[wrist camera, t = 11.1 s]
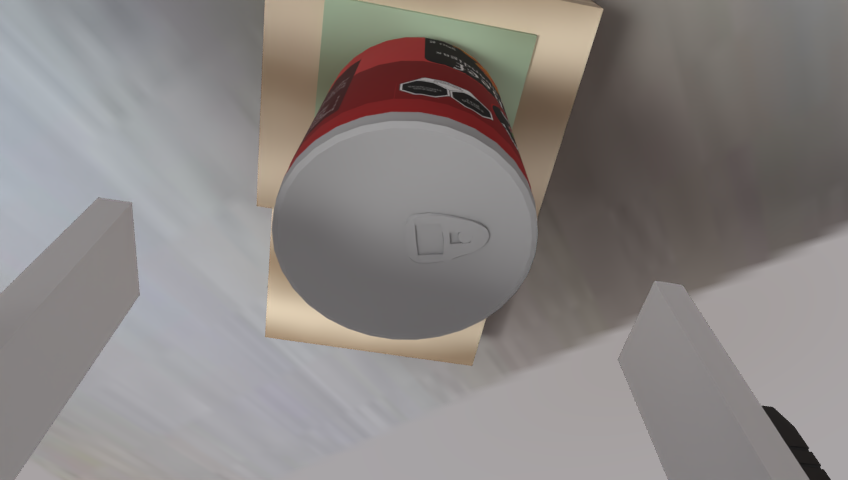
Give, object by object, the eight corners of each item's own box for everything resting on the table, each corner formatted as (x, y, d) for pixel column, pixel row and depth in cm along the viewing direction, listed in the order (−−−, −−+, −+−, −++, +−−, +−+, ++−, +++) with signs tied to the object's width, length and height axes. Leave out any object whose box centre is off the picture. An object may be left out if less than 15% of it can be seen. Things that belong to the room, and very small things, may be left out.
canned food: (522, 164, 28) (568, 305, 18) (367, 215, 29) (335, 369, 20) (472, 2, 24) (497, 74, 15) (297, 70, 26) (219, 174, 16)
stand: (468, 328, 44) (476, 413, 37) (278, 300, 42) (248, 383, 35) (564, -17, 32) (605, 10, 24) (303, -70, 30) (265, -57, 23)
